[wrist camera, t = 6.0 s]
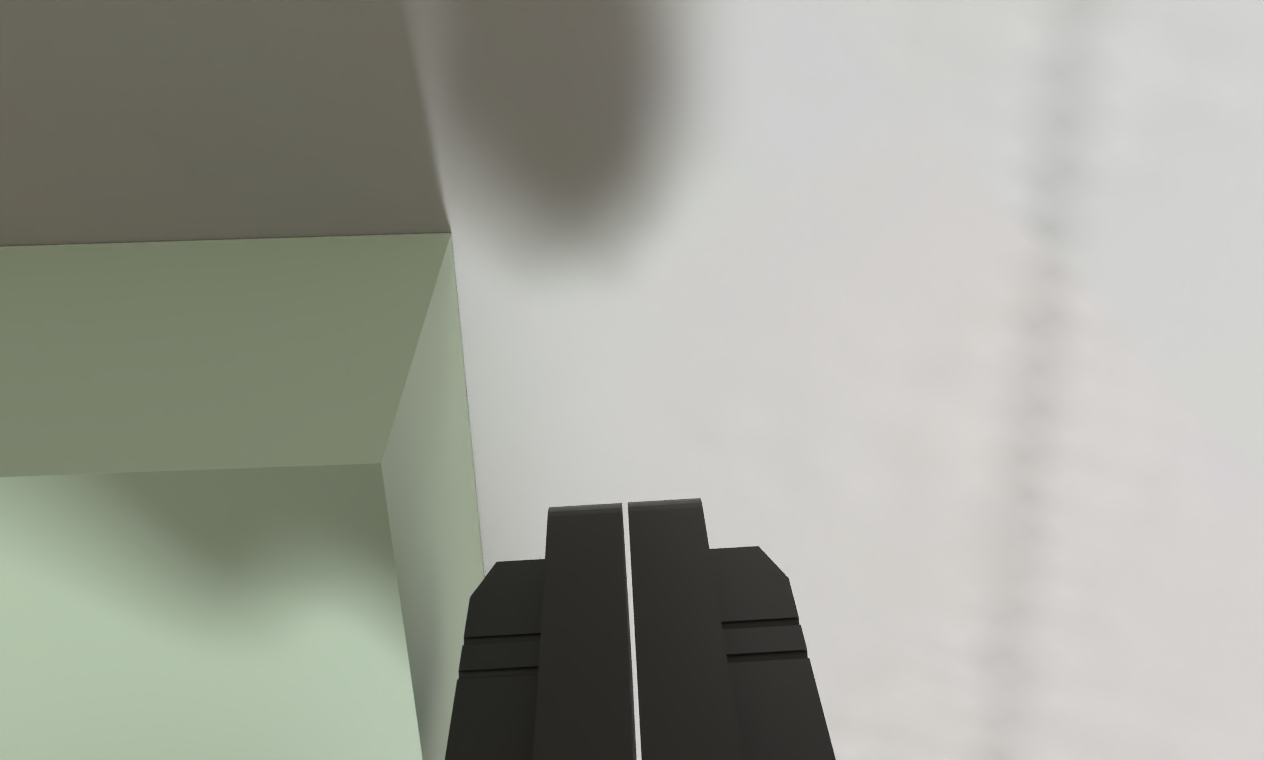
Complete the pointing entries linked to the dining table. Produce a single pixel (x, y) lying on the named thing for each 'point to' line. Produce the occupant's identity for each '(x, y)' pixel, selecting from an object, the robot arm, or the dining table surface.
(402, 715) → the sage block
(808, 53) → the dining table surface
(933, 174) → the dining table surface
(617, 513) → the robot arm
